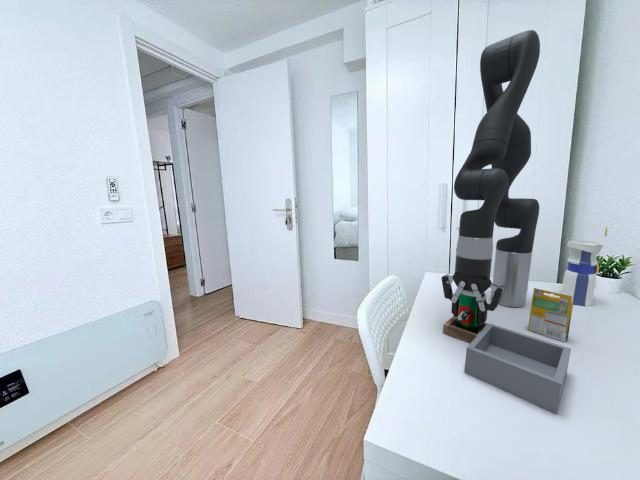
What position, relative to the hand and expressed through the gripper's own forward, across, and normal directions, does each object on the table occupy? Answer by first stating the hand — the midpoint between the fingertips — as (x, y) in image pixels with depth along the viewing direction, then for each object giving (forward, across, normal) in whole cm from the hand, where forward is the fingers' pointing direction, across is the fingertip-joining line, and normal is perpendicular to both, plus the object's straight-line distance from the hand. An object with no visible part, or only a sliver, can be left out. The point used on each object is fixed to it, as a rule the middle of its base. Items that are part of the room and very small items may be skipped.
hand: (467, 319), depth 67 cm
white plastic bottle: (+4, -17, -46) cm, 49 cm away
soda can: (+4, 0, 0) cm, 4 cm away
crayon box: (+4, -14, -14) cm, 20 cm away
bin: (+4, -12, +9) cm, 16 cm away
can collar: (+4, 0, 0) cm, 4 cm away
